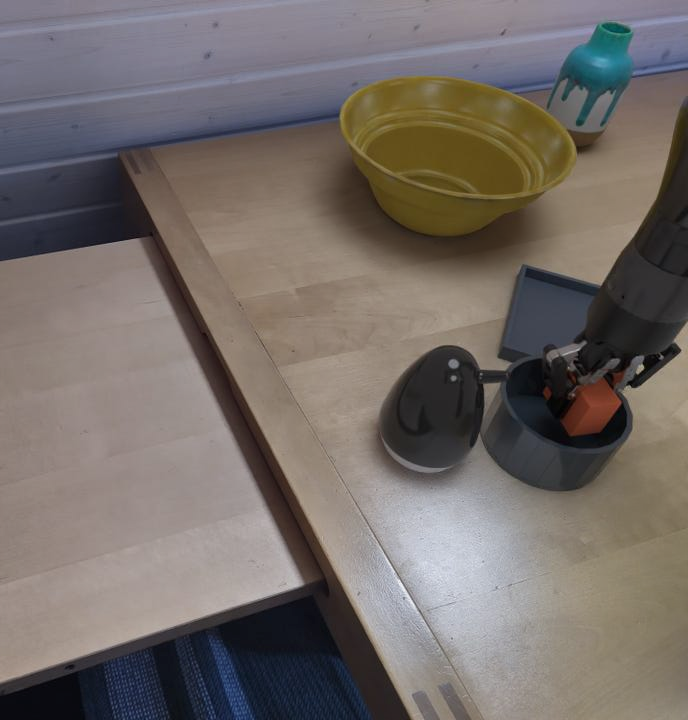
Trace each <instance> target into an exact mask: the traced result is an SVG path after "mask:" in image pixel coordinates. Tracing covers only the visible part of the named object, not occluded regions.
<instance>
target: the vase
mask: <svg viewBox="0 0 688 720" xmlns="http://www.w3.org/2000/svg"><path fill="white" fill-rule="evenodd" d="M634 34H635V29H634V28H633V27H632V26H631V25H629V24H628V23H625V22H622V21H618V20H610V19H609V20H608V19H607V20H602V21H600V22H598V23H597V25H596V27H595V28H594V31H593V33H592V35H591V37H590V39H589V40H588V41H587V42H585V43H581V44H579V45H577V46H575V47H574V48H573V49H571V51H570V52H569V53H568V54H567V57H566V58H565V60H564V62H563V63H562V66H561V67H560V70H559V71H558V74H557V76H556V79H555V81H554V82H553V85H552V88H551V91H550V93H549V96H548V99H547V102H546V105H545V108H544V110H545V111H546V112H547V113H549V114H550V115H552V116H553V117H554V118H555V119H556V120H557V121H559V122H560V123H561V124H562V126H563V127H564V128H565V129H566V130H567V132H568V133H569V135H570V136H571V138H572V139H573V142H574V144H575V147H576V148H578V147H579V148H580V147H584V146H588V145H591V144H592V143H594V142H595V141H597V140H598V139H599V138H600V137H601V136H602V135H603V134H604V132H605V131H606V130H607V128H608V127H609V125H610V123H611V122H612V120H613V118H614V116H615V114H616V112H617V111H618V109H619V107H620V104H621V103H622V101H623V98H624V96H625V94H626V92H627V90H628V87H629V85H630V82H631V80H632V77H633V73H634V68H635V62H634V58H633V57H632V55H631V54H630V53H629V51H628V50H629V47H630V44H631V41H632V40H633V37H634Z"/></svg>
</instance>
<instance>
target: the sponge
mask: <svg viewBox="0 0 688 720" xmlns="http://www.w3.org/2000/svg"><path fill="white" fill-rule="evenodd" d="M570 380H571V382H572V383H573V385H574V383H575V382H576V378H575V377H574V376H573V377H572V378H571V379H570ZM543 394H544V396H545V397H546V399H547V401H548V399H549V397H550V396H551V394H552V393H551V392H550V390H549V388H548V387H547V386H546V388H545V390H544V391H543ZM621 404H622V402H621V401H620V399H619V398H618V397H617V395H616V394H615V392H614V391H613V390H612V388H611V387H610V385H609V384H608V383H607V381H606V380H605V378H604V377H602V378H601V379H600V380H599V381H598V382H597V383H596V384H595V385H594V386H593V387H589V386H587V387H586V388H585V389H584V390H583V392H582V393H581V394H580V395H579V396H578V397H577V398H576V400H575V402H574V404H573V405H572V407H571V408H570V410H569V411H568V413H567V414H566V416H565V417H564V419H559V420H560V421H561V423H562V424H563V426H564V428H565V429H566V431H567V432H568V434H569V436H578V435H585V434H593V433H600V432H601V431H602V429H603V428H604V427H605V425H606V424H607V423H608V421H609V420H610V419H611V417H612V416H613V414H614V413H615V412H616V410H617V409H618V408H619V406H620V405H621Z"/></svg>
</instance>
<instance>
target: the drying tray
mask: <svg viewBox="0 0 688 720" xmlns="http://www.w3.org/2000/svg"><path fill="white" fill-rule="evenodd" d="M600 287H601V285H599V284H596V283H592V282H588V281H585V280H581V279H578V278H575V277H571V276H568V275H563V274H560V273H557V272H554V271H551V270H546V269H543V268H540V267H536V266H532V265H528V264H525V263H522V265H521V267H520V269H519V270H518V273H517V276H516V281H515V285H514V289H513V293H512V297H511V301H510V306H509V309H508V314H507V318H506V320H505V321H506V322H505V326H504V330H503V333H502V338H501V342H500V347H499V350H498V354H497V358H499V359H502V360H505V361H509V362H512V363H514V362H516V361H517V360H519V359H520V358H524V357H528V356H532V355H543V348H544V347H545V346H546V345H548V344H555V346H556V347H557V349H559V348H562V347H565V346H568V345H571V344H572V343H573V340H574V339H575V337H576V336H578V335H579V334H580V333H581V332H582V331H583V330H584V329H585V327H586V320H587V310H588V308H589V306H590V304H591V302H592V301H593V299H594V297H595V295H596V294H597V292H598V290H599V289H600Z"/></svg>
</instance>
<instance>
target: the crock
mask: <svg viewBox="0 0 688 720" xmlns="http://www.w3.org/2000/svg"><path fill="white" fill-rule="evenodd" d="M542 359H543V355H532V356H528V357H524V358H520V359H519V360H517V361H516V362H512V363H511V364H509V365H508V366H507V368H506V369H505V371H509V372H510V380H509V381H508V382H501V383H496V386H495V388H494V390H493V392H492V394H491V396H490V398H489V400H488V403H487V404H486V406H485V407H484V415H483V420H482V425H481V429H480V436H481V440H482V442H483V445H484V447H485V449H486V450H487V452H488V454H489V455H490V457H491V458H492V459H493V461H494V462H495V463H496V464H497V465H498V466H500V467H501V468H502V470H504V471H505V472H506V473H508V474H509V475H511V476H512V477H514V478H516V479H517V480H519V481H521V482H523V483H525V484H527V485H529V486H533V487H535V488H538V489H542V490H547V491H552V492H553V491H554V492H570V491H575V490H579V489H582V488H584V487H587V486H588V485H590V484H591V483H592V482H593V481H595V479H596V478H597V477H598V476H600V475H601V474H602V472H603V471H604V470H605V468H606V467H607V466H608V464H609V463H610V462H611V461H612V459H613V458H615V456H616V455H617V453H618V452H619V451H620V449H622V447H623V446H624V444H625V443H626V442H627V441H628V438H629V437H630V434H631V433H632V431H633V424H634V423H633V421H634V416H633V411H632V409H631V406H630V404H629V401H628V399H627V397H626V396H625V395H624V394H623V391H622V392H620V393H618V394H616V395H617V397H618V398H619V399H620V401H621V402H622V404H621V405H620V406H619V408H618V409H617V410H616V412H615V413H614V414H613V416H612V417H611V419H610V420H609V421H608V423H607V424H606V425H605V427H604V428H603V429H602V431H601V432H600V433H593V434H585V435H578V436H569V434H568V432H567V431H566V429H565V428H564V426H563V424H562V423H561V421H560V420H556V419H555V418H554V417H553V415H552V414H551V412H550V411H549V409H548V407H547V406H546V402H547V399H546V397H545V396H544V394H543V391H544V390H545V388H546V386H547V385H546V384H545V382H544V381H543V379H542Z"/></svg>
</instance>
